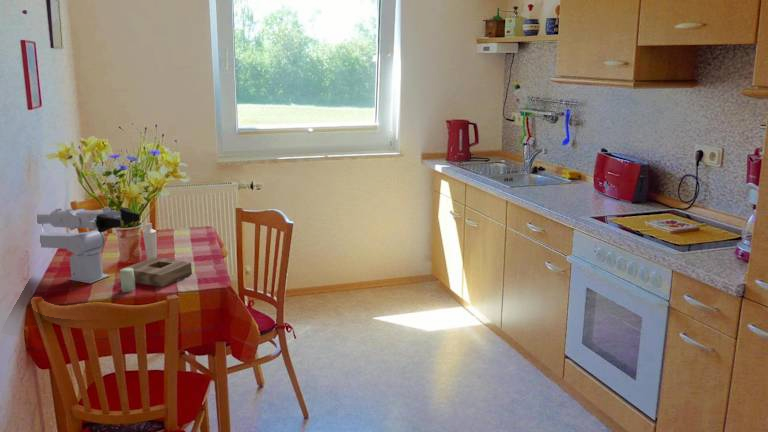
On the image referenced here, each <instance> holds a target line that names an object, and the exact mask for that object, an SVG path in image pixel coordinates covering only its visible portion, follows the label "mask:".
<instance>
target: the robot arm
mask: <svg viewBox="0 0 768 432" xmlns="http://www.w3.org/2000/svg"><path fill="white" fill-rule="evenodd" d="M102 208H103V209H102V210H91V209H90V210H87V209H86V208H82V207H80V208H78V209H75V210H74V209H72V208H67V209H62V207H57V208H55V210H52V211H51V212H50V213H49V212H40V211H38V212H39V213H38V214H37V223H38V224H42V232H41V234H40V243H41V247H40V248H46V249H66V250H67V252H69V253H70V252H71V253H72V254H71V255H70V258H69V265H70V267H69V268H70V274H71V277H69V280H70V281H76V282H81V283H86V284H93V283H95V282H98V281H100V280H101V281H102V280H103V279H106V278H108V277H110V274H108V273H104V271H103V262H102V261H103V260H102V252H101V251H103V247H104V246H105V245H106V238H105V235H104V232H107V231H108V230H112V229H116V228H120V227H122V223H121V222H123V226H124V227H125V226H128V225H130V224H131V223H136V222H139V221H140V220H141V218H140V214H139V213H137V212H134V211H131V210H130V209H129V208H128V207H121V208H119V209H120V211H117V210H111V208H110V206H105V207H102ZM49 224H50V226H52V227H54V228H67V229H69V230H70V231H73V230H76V229H79V228H80V229H81V228H82V229H92V230H91V231H86V232H77V233H76V232H75V233H74V232H73V233H72V232H49V231H48V229H47V226H46V225H49Z"/></svg>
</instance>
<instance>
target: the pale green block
mask: <svg viewBox="0 0 768 432" xmlns="http://www.w3.org/2000/svg"><path fill="white" fill-rule="evenodd" d="M123 268H124V269H123ZM123 268H121V269H119V278H120V288H121V292H122V293H129V292H130V293H131V292H134V291H136V282H135V279H134V269H133V268H126V267H123Z"/></svg>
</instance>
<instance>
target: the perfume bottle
mask: <svg viewBox="0 0 768 432" xmlns="http://www.w3.org/2000/svg"><path fill="white" fill-rule="evenodd" d="M142 235H143V242H144V248H145V255H146V260H147V259H149V258H152V257H158V255H157V252H158V251H157V249H158V248H157V246H158V245H157V243H158V242H157V241H158V240H157V239H158V237H157V230H155V229H153V226H152V223H151V222H147V223H145V229H144V230H143V231H142Z"/></svg>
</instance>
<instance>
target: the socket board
mask: <svg viewBox="0 0 768 432" xmlns="http://www.w3.org/2000/svg"><path fill="white" fill-rule="evenodd" d="M124 268H133V269H134V279H135V284H136V283H138V284H142V285H148V286H155V287H158V288H159V287H160V288H164V287H166V286H169V285H170V284H173V283H175V282H177V281H179V280H182V279H184V278H187V277H189V276H190V275H192V274H193V271H192V262H190V261H184V260H183V261H182V260H177V259H170V258H165V257H158V256H157V257H152V258H149V259H147V258H146V259H144V260H141V261H139V262H136V263H134V264H131V265H128V266H126V267H123V268H122V269H124Z"/></svg>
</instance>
